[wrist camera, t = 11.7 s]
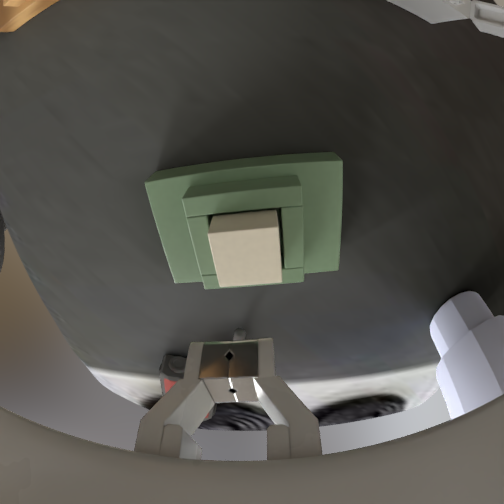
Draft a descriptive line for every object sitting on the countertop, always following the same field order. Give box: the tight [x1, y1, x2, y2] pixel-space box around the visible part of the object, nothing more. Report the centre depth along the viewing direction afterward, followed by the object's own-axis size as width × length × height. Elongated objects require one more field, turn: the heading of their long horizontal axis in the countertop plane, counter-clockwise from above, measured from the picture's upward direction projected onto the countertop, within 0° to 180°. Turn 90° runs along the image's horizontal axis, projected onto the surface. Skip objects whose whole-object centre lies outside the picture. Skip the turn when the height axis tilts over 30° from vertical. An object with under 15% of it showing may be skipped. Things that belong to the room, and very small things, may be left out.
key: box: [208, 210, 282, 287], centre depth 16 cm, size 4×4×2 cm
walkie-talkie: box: [159, 328, 246, 421], centre depth 29 cm, size 9×4×20 cm
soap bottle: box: [430, 291, 504, 419], centre depth 16 cm, size 10×10×24 cm
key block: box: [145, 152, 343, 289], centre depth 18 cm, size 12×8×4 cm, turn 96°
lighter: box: [387, 0, 504, 38], centre depth 7 cm, size 7×2×8 cm, turn 79°
